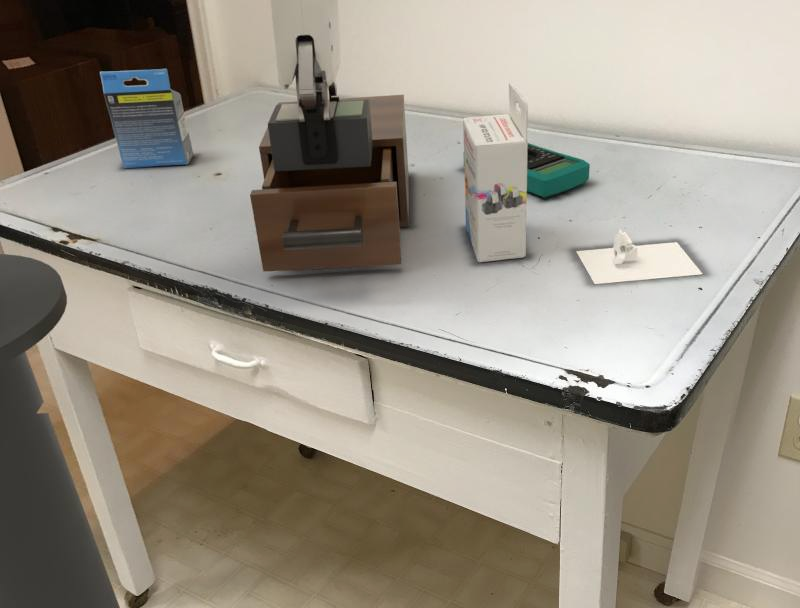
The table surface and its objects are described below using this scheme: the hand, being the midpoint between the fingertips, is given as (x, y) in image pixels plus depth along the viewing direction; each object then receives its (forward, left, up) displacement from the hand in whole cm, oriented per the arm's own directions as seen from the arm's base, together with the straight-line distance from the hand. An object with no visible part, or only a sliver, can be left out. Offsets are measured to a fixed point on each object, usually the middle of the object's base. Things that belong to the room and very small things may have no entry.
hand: (323, 149), depth 81 cm
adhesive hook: (+29, -6, -11) cm, 32 cm away
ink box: (+16, 0, -11) cm, 19 cm away
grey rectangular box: (0, 0, -1) cm, 1 cm away
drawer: (0, -1, -10) cm, 10 cm away
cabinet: (0, +13, -11) cm, 17 cm away
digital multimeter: (+21, +18, -11) cm, 30 cm away
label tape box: (-26, +31, -11) cm, 42 cm away
